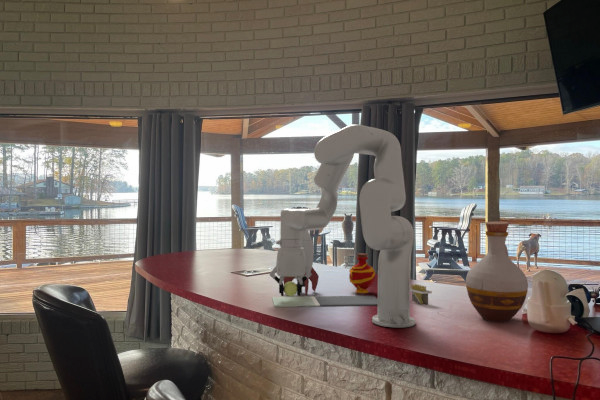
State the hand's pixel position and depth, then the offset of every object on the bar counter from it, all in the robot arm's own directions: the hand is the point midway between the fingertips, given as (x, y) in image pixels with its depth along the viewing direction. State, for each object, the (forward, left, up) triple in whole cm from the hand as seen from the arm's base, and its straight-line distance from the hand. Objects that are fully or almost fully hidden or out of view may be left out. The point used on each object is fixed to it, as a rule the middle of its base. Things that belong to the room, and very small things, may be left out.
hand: (290, 294), depth 169 cm
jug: (-27, -62, -3) cm, 68 cm away
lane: (0, -13, -3) cm, 13 cm away
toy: (+17, -6, -3) cm, 18 cm away
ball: (0, 0, +2) cm, 2 cm away
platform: (-3, -45, -3) cm, 46 cm away
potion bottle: (+17, -30, -3) cm, 35 cm away
